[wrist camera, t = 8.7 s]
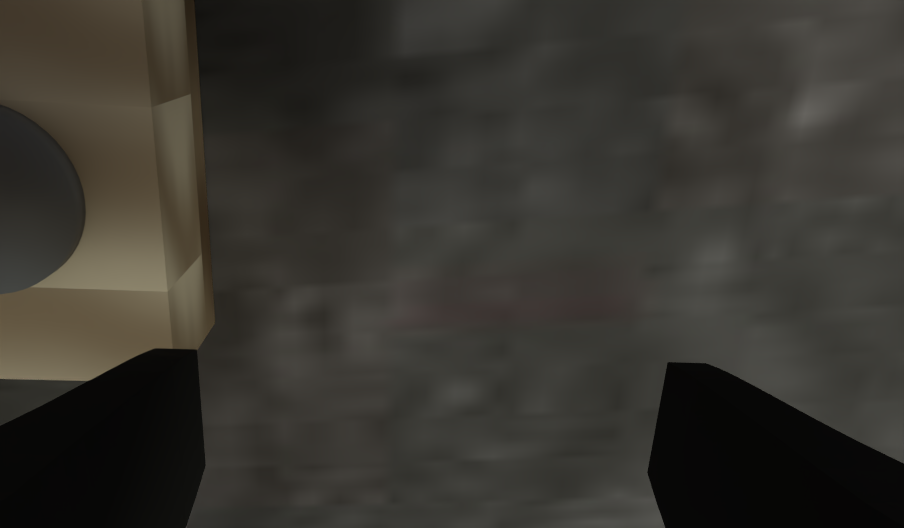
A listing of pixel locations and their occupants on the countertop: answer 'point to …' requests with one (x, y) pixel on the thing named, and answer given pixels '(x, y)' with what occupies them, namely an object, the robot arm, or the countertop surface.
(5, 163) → the bore block
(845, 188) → the countertop surface
